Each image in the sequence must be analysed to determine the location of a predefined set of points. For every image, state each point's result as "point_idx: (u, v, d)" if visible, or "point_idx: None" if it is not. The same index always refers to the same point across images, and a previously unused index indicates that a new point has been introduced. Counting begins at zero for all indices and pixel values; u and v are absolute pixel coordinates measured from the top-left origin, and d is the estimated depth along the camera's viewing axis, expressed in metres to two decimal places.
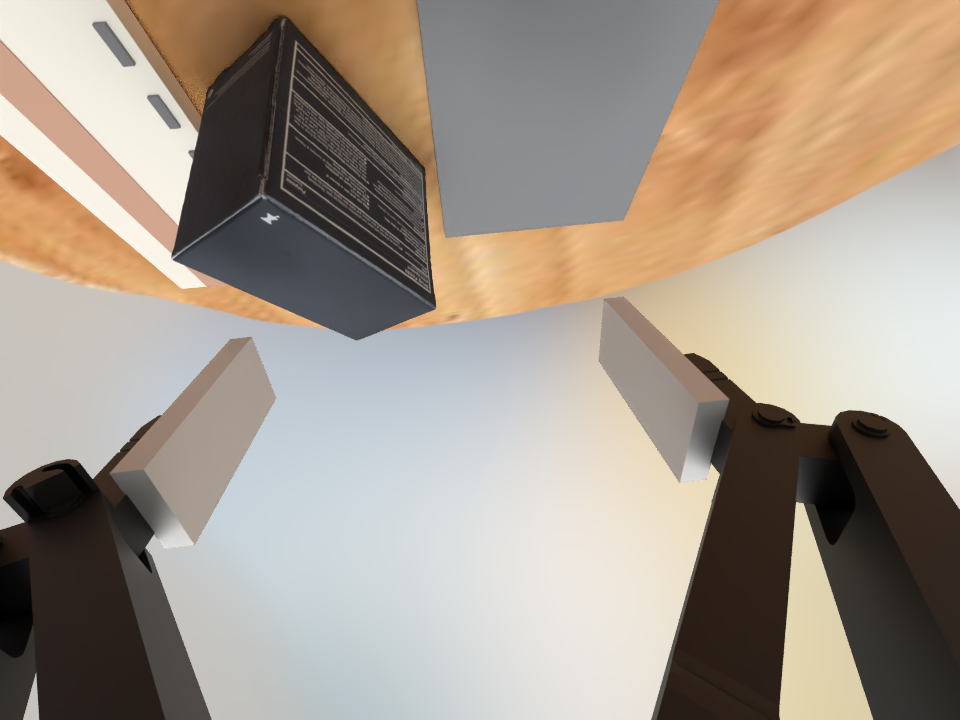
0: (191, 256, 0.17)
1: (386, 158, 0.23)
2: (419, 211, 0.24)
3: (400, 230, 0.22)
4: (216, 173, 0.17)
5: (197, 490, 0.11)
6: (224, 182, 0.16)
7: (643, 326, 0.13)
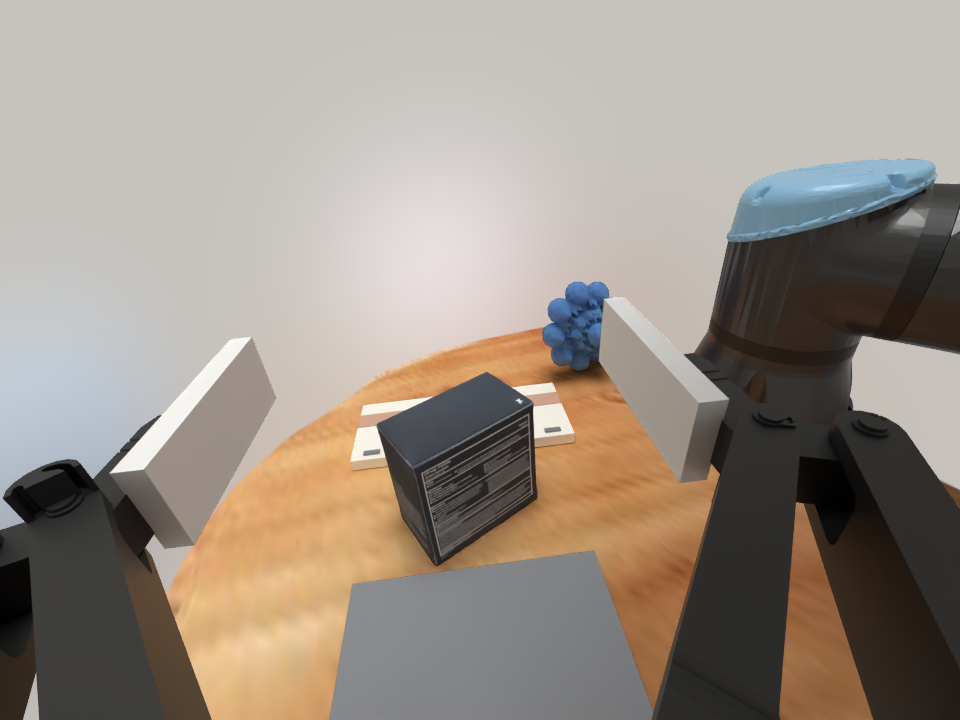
0: (489, 376, 0.35)
1: (474, 516, 0.32)
2: (440, 522, 0.30)
3: (457, 483, 0.29)
4: None
5: (197, 490, 0.11)
6: None
7: (643, 326, 0.13)
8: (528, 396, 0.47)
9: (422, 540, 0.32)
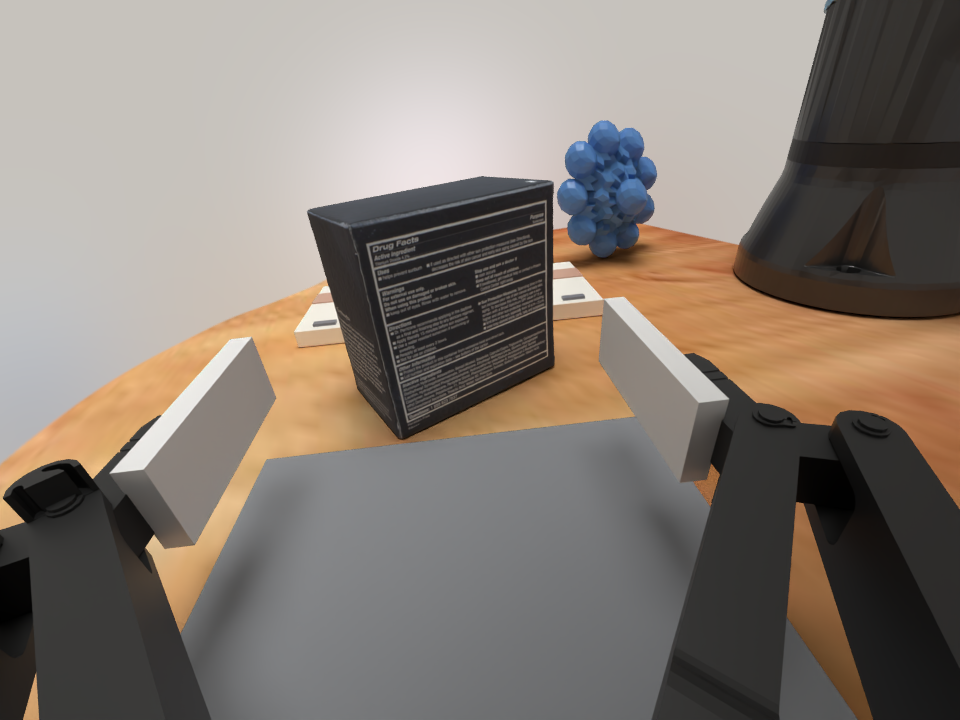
0: (486, 177, 0.23)
1: (461, 365, 0.21)
2: (405, 358, 0.19)
3: (432, 290, 0.18)
4: None
5: (197, 490, 0.11)
6: None
7: (643, 326, 0.13)
8: None
9: (381, 404, 0.21)
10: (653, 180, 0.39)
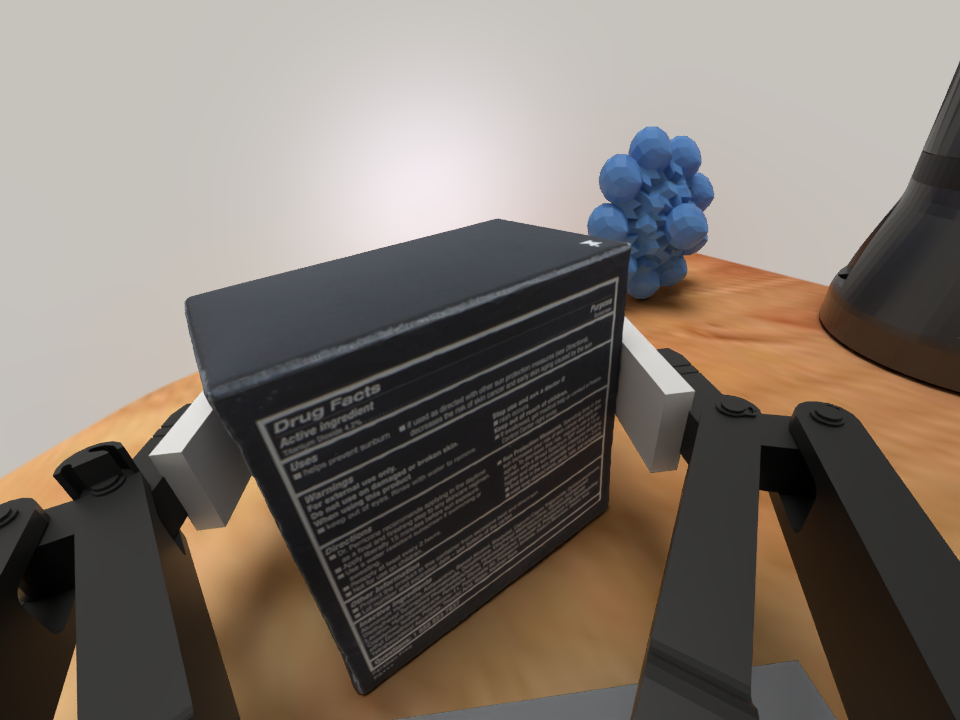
0: (505, 222, 0.15)
1: (467, 560, 0.12)
2: (361, 586, 0.10)
3: (412, 467, 0.09)
4: None
5: (227, 474, 0.12)
6: None
7: None
8: None
9: None
10: (709, 203, 0.30)
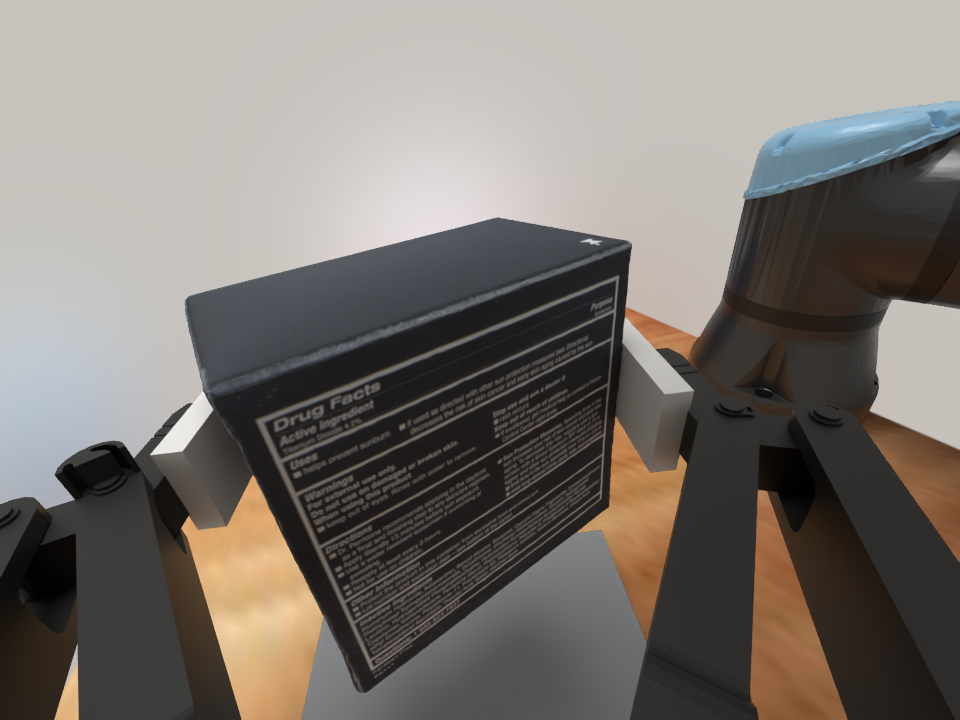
0: (505, 221, 0.15)
1: (467, 559, 0.12)
2: (362, 584, 0.10)
3: (412, 465, 0.09)
4: None
5: (228, 474, 0.12)
6: None
7: None
8: None
9: None
10: None
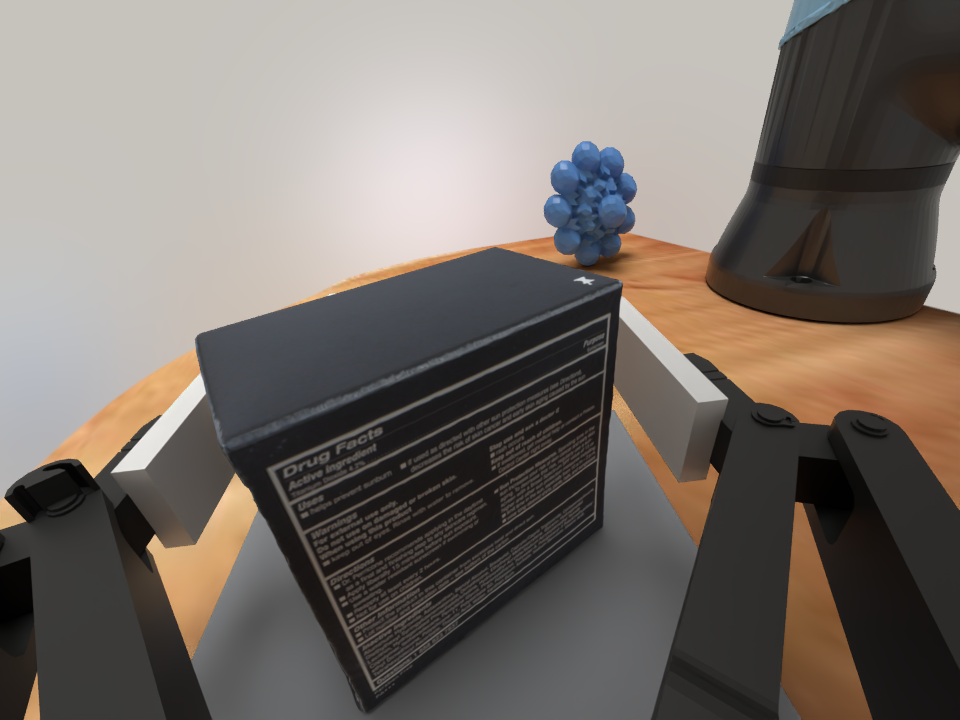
0: (502, 251, 0.15)
1: (465, 583, 0.12)
2: (364, 612, 0.10)
3: (413, 500, 0.10)
4: None
5: (198, 490, 0.11)
6: None
7: (643, 326, 0.13)
8: None
9: None
10: (633, 194, 0.42)
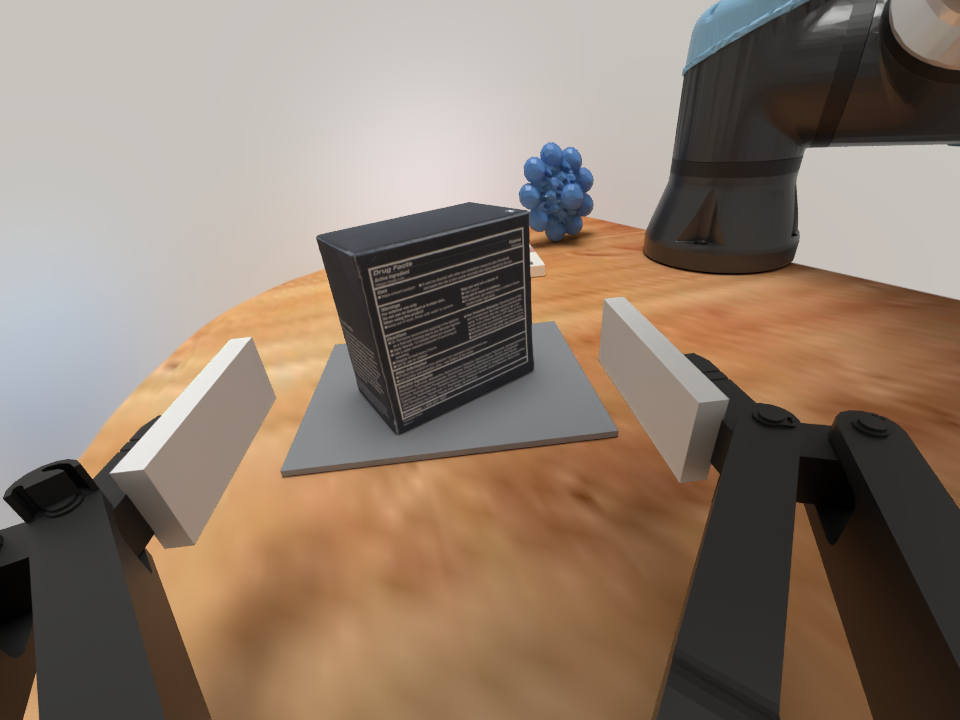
0: (473, 203, 0.27)
1: (450, 370, 0.24)
2: (400, 364, 0.22)
3: (424, 306, 0.21)
4: None
5: (197, 490, 0.11)
6: None
7: (643, 326, 0.13)
8: None
9: (380, 403, 0.24)
10: (590, 184, 0.54)
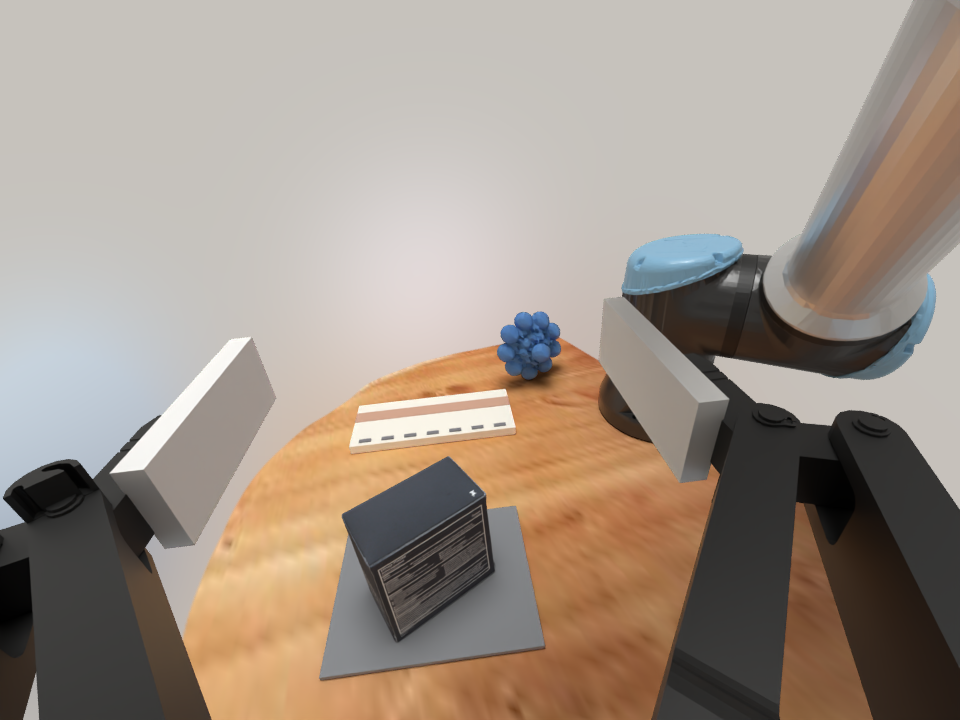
0: (450, 462, 0.38)
1: (432, 596, 0.35)
2: (398, 606, 0.33)
3: (414, 572, 0.32)
4: None
5: (197, 490, 0.11)
6: None
7: (643, 326, 0.13)
8: (485, 399, 0.61)
9: (384, 617, 0.35)
10: (557, 337, 0.65)
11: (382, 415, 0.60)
